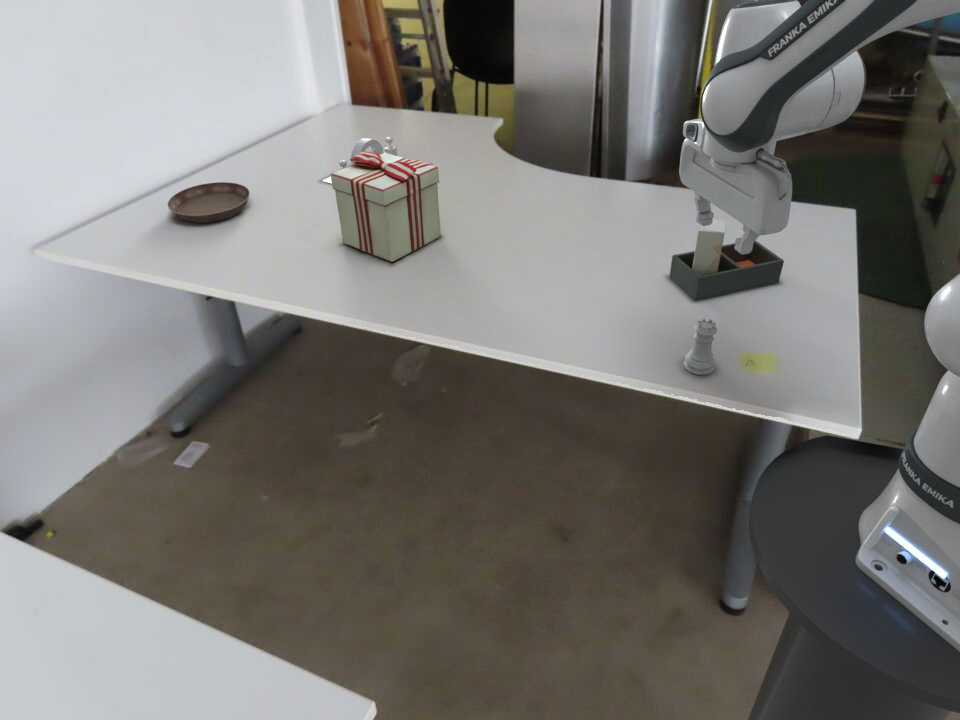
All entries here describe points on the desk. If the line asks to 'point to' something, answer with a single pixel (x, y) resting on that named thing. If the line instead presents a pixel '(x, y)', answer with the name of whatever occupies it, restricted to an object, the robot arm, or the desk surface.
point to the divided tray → (727, 272)
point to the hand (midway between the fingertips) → (722, 237)
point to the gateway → (363, 145)
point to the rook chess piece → (702, 349)
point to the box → (709, 248)
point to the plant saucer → (209, 201)
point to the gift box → (387, 204)
